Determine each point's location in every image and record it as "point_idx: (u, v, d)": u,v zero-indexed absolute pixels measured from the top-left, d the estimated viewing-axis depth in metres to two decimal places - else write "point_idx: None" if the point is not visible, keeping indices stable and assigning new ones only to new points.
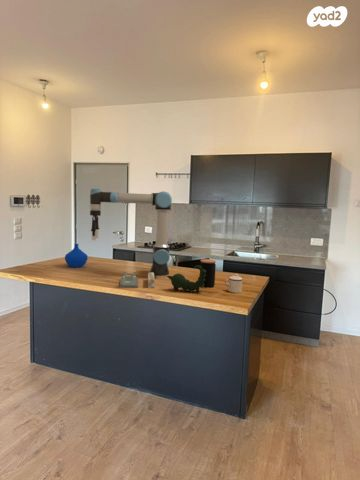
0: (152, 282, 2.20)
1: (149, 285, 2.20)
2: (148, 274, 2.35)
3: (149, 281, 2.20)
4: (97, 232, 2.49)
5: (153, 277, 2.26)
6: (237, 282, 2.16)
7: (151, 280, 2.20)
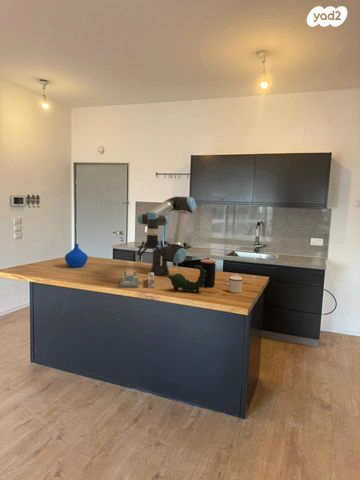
0: (152, 282, 2.20)
1: (149, 285, 2.20)
2: (148, 274, 2.35)
3: (149, 281, 2.20)
4: (160, 259, 2.29)
5: (153, 277, 2.26)
6: (237, 282, 2.16)
7: (151, 280, 2.20)
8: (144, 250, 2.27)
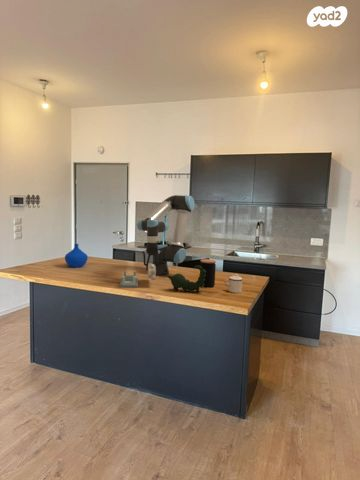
0: (153, 274, 2.20)
1: (150, 277, 2.20)
2: (149, 266, 2.34)
3: (150, 273, 2.20)
4: None
5: (154, 269, 2.26)
6: (237, 282, 2.16)
7: (152, 272, 2.20)
8: (148, 259, 2.28)
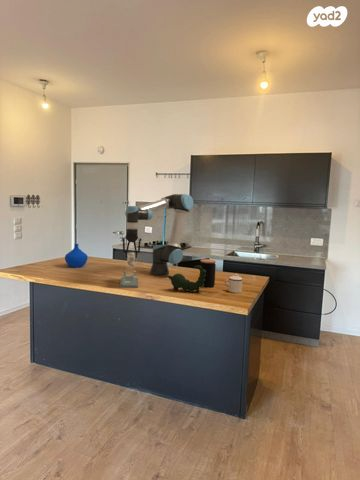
0: (132, 260, 2.16)
1: (129, 263, 2.16)
2: None
3: (129, 259, 2.16)
4: (134, 256, 2.27)
5: (133, 256, 2.22)
6: (237, 282, 2.16)
7: (131, 258, 2.16)
8: (127, 246, 2.25)
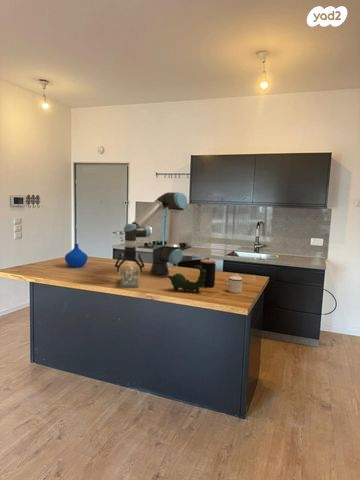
0: (129, 276, 2.18)
1: (126, 279, 2.18)
2: None
3: (126, 275, 2.17)
4: None
5: (131, 271, 2.24)
6: (237, 282, 2.16)
7: (128, 274, 2.17)
8: (122, 262, 2.26)
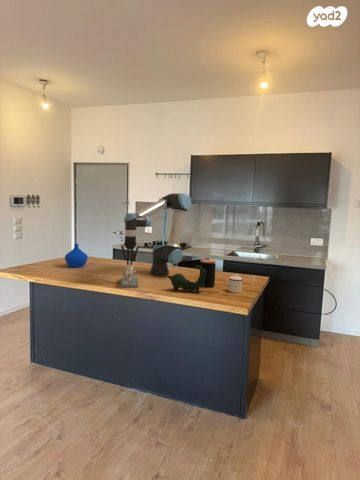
0: (129, 276, 2.18)
1: (126, 279, 2.18)
2: None
3: (126, 275, 2.17)
4: None
5: (131, 271, 2.24)
6: (237, 282, 2.16)
7: (128, 274, 2.17)
8: (128, 253, 2.26)
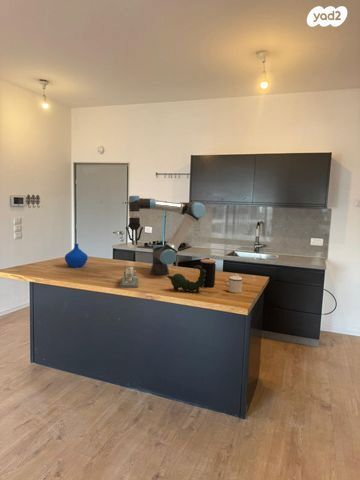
0: (129, 276, 2.18)
1: (126, 279, 2.18)
2: None
3: (126, 275, 2.17)
4: None
5: (131, 271, 2.24)
6: (237, 282, 2.16)
7: (128, 274, 2.17)
8: (132, 234, 2.39)
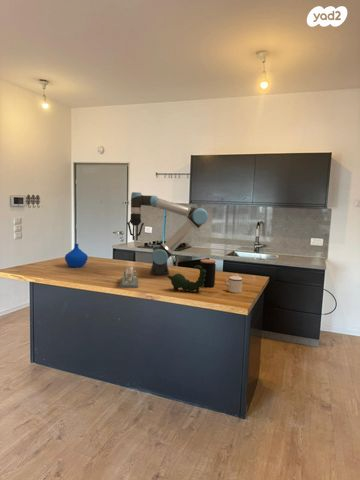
0: (129, 276, 2.18)
1: (126, 279, 2.18)
2: None
3: (126, 275, 2.17)
4: None
5: (131, 271, 2.24)
6: (237, 282, 2.16)
7: (128, 274, 2.17)
8: (133, 229, 2.46)
